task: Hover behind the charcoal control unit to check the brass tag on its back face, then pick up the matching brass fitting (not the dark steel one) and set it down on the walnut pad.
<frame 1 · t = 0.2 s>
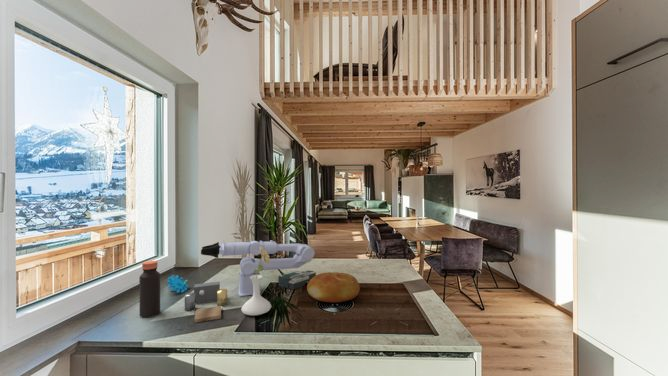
hand: (201, 250, 125), 21 cm above the worktop, tool horizontal, fingers open, 7 cm apart
walnut pad: (208, 315, 109), on the worktop
control unit: (207, 300, 123), on the worktop
brass fitting: (222, 304, 119), on the worktop
steel fitting: (190, 309, 114), on the worktop
blue bumpy lump: (178, 292, 134), on the worktop
communication device: (300, 282, 148), on the worktop
bottle: (150, 314, 110), on the worktop
bread: (333, 296, 129), on the worktop
flower in vase: (257, 311, 113), on the worktop
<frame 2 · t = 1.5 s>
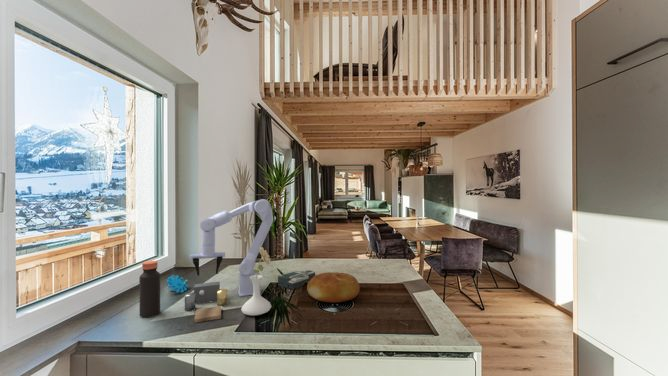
hand: (207, 274, 130), 9 cm above the worktop, tool pointing down, fingers open, 7 cm apart
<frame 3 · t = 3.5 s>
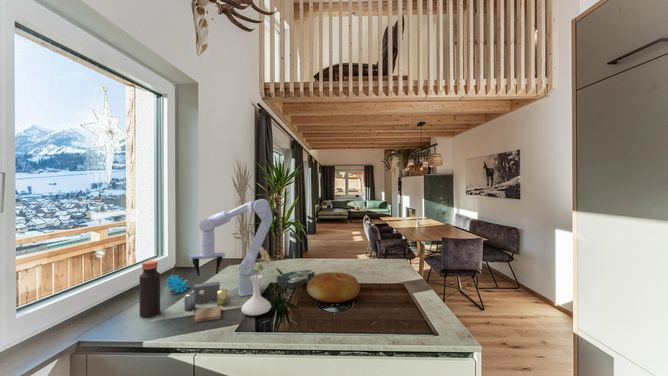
hand: (207, 274, 130), 9 cm above the worktop, tool pointing down, fingers open, 7 cm apart
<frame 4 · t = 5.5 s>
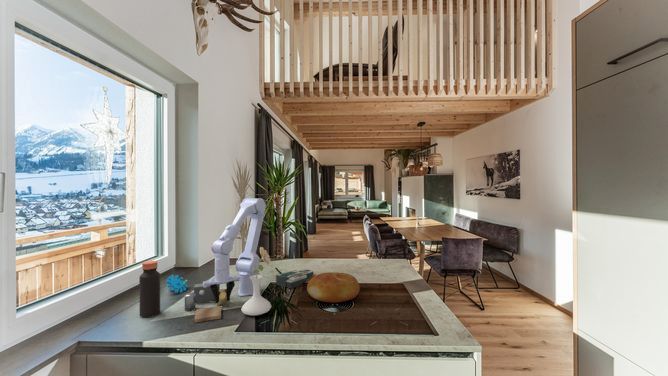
hand: (222, 301, 119), 1 cm above the worktop, tool pointing down, fingers closed on brass fitting, 4 cm apart
brass fitting: (222, 304, 119), on the worktop, touching gripper
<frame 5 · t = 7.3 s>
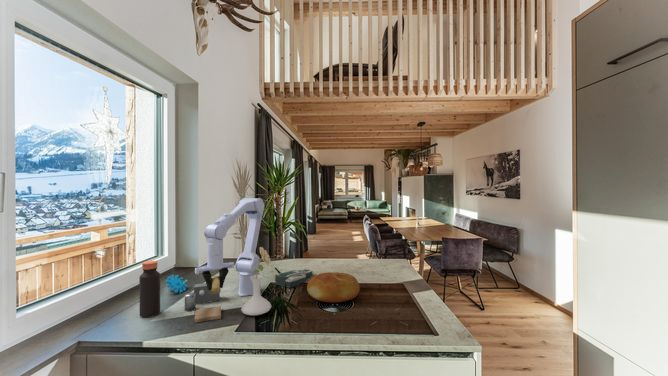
hand: (215, 288, 114), 9 cm above the worktop, tool pointing down, fingers closed on brass fitting, 4 cm apart
brass fitting: (215, 292, 114), point 7 cm above the worktop, touching gripper
when the fingers open (4 cm above the worktop, at t = 8.9 s): brass fitting drops 1 cm, resting on walnut pad.
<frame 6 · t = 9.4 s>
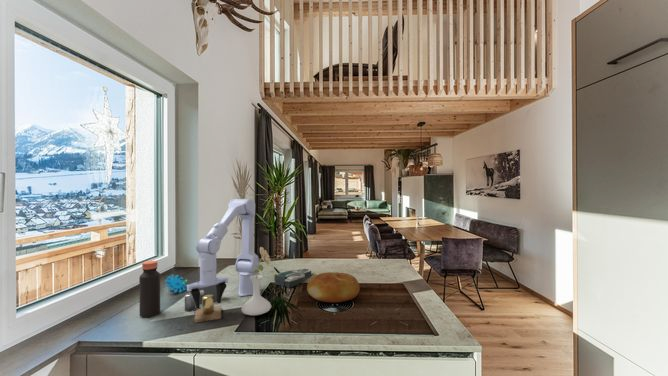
hand: (208, 305, 109), 4 cm above the worktop, tool pointing down, fingers open, 7 cm apart
brass fitting: (208, 312, 109), point 1 cm above the worktop, touching walnut pad
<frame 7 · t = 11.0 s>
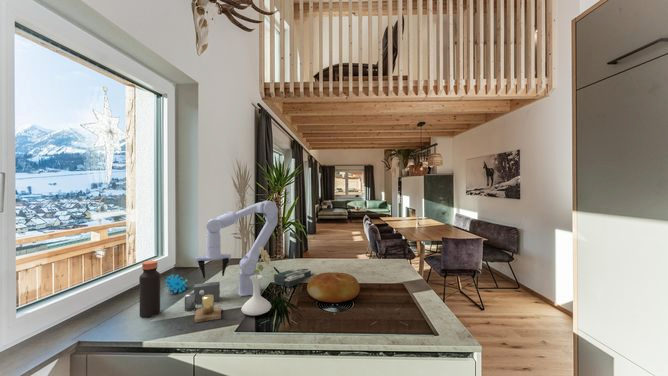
hand: (213, 276, 126), 9 cm above the worktop, tool pointing down, fingers open, 7 cm apart
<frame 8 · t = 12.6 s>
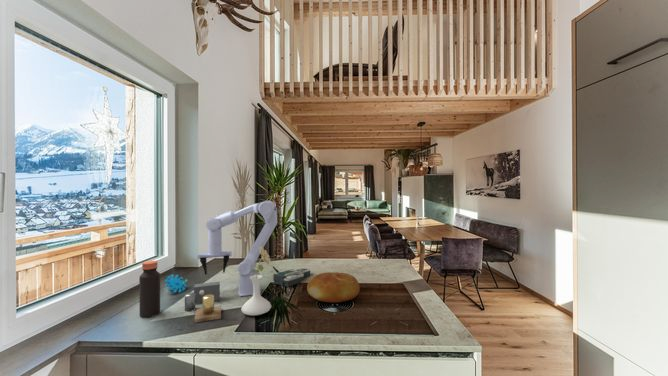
hand: (214, 272, 132), 9 cm above the worktop, tool pointing down, fingers open, 7 cm apart
at the end: brass fitting 0.1 cm off-centre on the walnut pad, point 1.3 cm above the walnut pad's base; brass fitting tilted 2°; steel fitting moved 0.0 cm from its start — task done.
